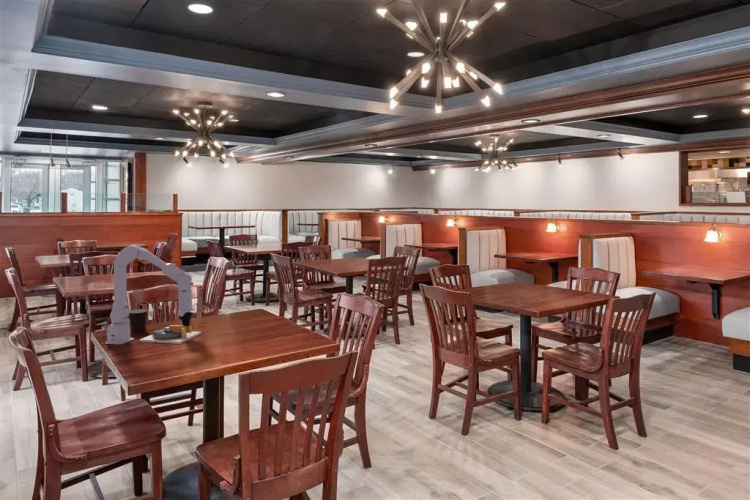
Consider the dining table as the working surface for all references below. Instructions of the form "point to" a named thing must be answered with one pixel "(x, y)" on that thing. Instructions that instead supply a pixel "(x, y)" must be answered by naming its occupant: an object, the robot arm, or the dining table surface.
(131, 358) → the dining table surface
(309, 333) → the dining table surface
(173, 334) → the dial
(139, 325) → the coffee mug
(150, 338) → the base board
